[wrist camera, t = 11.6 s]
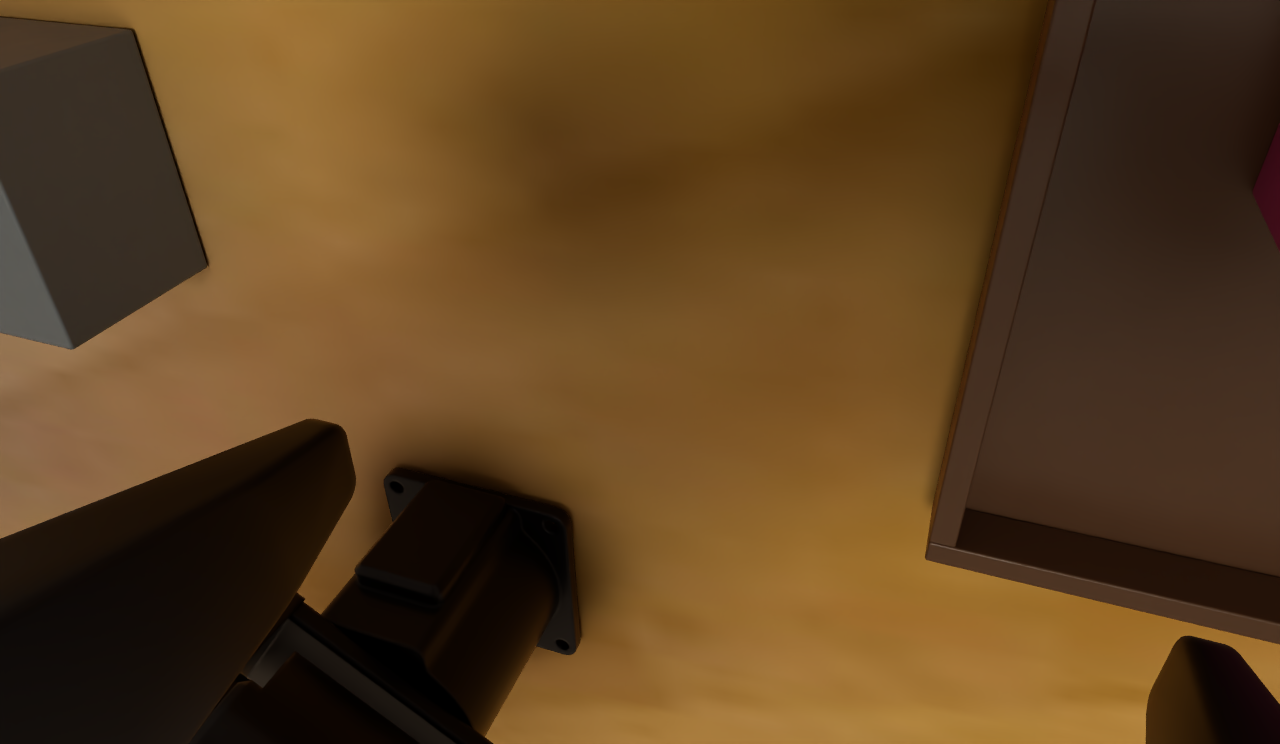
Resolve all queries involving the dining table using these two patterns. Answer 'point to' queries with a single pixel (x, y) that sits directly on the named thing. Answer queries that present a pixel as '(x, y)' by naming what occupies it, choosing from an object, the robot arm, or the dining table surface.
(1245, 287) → the tray
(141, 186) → the base block
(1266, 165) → the top block
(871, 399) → the dining table surface
